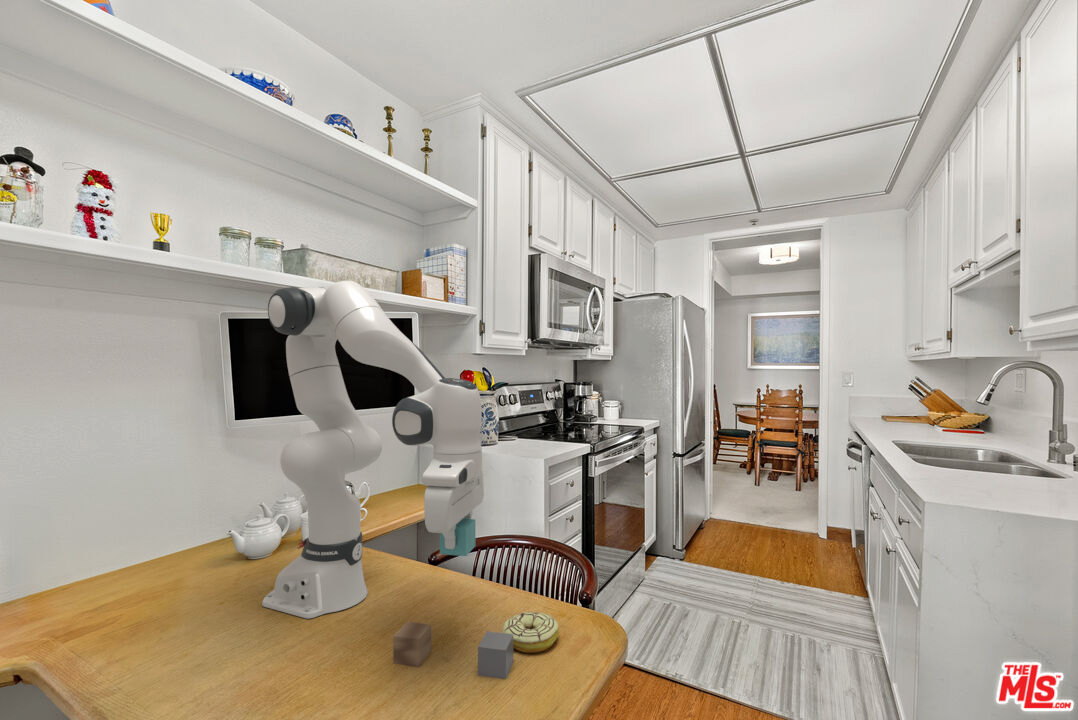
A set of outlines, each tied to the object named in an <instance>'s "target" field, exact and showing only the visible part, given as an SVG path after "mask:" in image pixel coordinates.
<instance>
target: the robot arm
mask: <svg viewBox="0 0 1078 720" xmlns="http://www.w3.org/2000/svg"><path fill="white" fill-rule="evenodd" d="M267 315H268V319H269V322H270V325H271V327H273V328H274V330H275V331H276V332H277V333H280V334H282V335H287V338H286V341H285V354H286V355H285V357H286V364H287V365H286V366H287V370H288V376H289V380H290V384H291V388H292V393H293V397H294V401H295V405H296V408H297V410H298V411H299V412H300V413H301V414H302V415H304V416H305V417H308V418H309V419H310V420H311V421H313V423H315V425H316V426H317V428H318V429H319V431H313V432H308V433H305V434H303V435H300V436H297V437H295V438H293V439H291V440H290V441H287V443H286V444H285V445H284V447H283V449H282V451H281V453H280V468H281V471H282V473H283V474H284V476H285V477H286V478H287V479H288V480H289V481H290V482H292V483H294V484H295V485H296V486H298V488H299V489H300V490H301V492H302V495H303V496H304V500H305V503H306V506H307V518H308V519H307V520H308V521H307V523H308V537H307V538H305V539H304V540H302V541H301V542H299V543H297V546H298V547H297V549H298V550H299V549H301V548H302V551H301V553H300V555H298V557H296V558H295V559H294V560H292V561H291V562H290V563H288V565H287V566H285V567H284V568H282V570H280V571H279V572H278V575H277V576H276V579H275V583H274V588H273V590H271V591H269V592H268V594H266V595H265V596H264V598H263V600H262V601H261V602H262V603H261V606H262V607H264V608H268V609H271V610H275V611H279V612H282V613H286V614H289V615H292V616H296V617H299V618H304V619H314V618H316V617H319V616H322V615H325V614H330V613H335V612H340V611H342V610H346V609H349V608H352V607H354V606H355V605H358V604H359V603H361V602H362V601H363V600H364V599H365V598H366V597H367V596H368V592H369V591H368V588H367V586H366V580H365V578H364V571H363V563H362V556H363V532H362V531H361V501H360V499H359V497H358V496H357V495H355V494H354V493H352V492H350V491H349V490H348V487H347V484H346V478H345V477H346V475H347V474H351V473H354V472H357V471H361V470H363V469H365V468H367V467H368V466H371V464H373V463H375V462H376V461H377V460H378V459H379V457H380V456H381V453H382V448H383V443H382V438H381V436H380V435H379V433H378V432H377V430H376V429H374V428H373V427H371V426H369V425H368V424H367V423H366V422H365V421H364V420H363V419H362V417H361V416H360V414H359V413H358V412H357V411H356V408H355V407H354V406H353V403H352V402H351V399H350V397H349V394H348V391H347V388H346V384H345V381H344V377H343V374H342V370H341V366H340V363H339V359H338V356H337V353H336V352H337V351H336V344H337V343H336V342H337V341H338V342H339V343H340V345H341V347H342V348H343V350H344V351H345V352H346V353H347V354H348V355H350V357H351V358H352V359H354V360H355V361H357V362H359V363H361V364H365V365H367V366H368V365H369V366H373V367H378V368H383V369H386V370H390V371H392V372H394V373H397V374H399V375H401V376H403V377H405V378H406V379H407V380H408V381H409V382H410V383H411V384H412V385H413V387H414V388H415V389H416V390H417V392H418V393H417V394H414V395H412V396H407V397H404V398H402V399H401V400H399V401H398V403H397V404H396V405H395V408H394V410H393V412H392V416H391V417H392V419H391V420H392V421H391V424H392V425H391V426H392V431H393V432H394V435H395V437H396V438H397V439H398V440H399V441H400V442H401V443H402V444H404V445H406V446H411V447H412V446H415V447H418V446H425V445H432V446H433V458H432V459H431V462H430V464H429V465H428V466H427V468H426V470H425V471H423V474H422V479H421V481H422V485H423V486H426V488H425V491H424V495H423V497H424V501H423V503H424V504H423V505H424V506H423V507H424V508H423V510H424V511H423V512H424V524H425V527H426V530H427V531H428V532H429V533H436V534H440V533H443V536H444V538H445V548H447V549H454V548H455V547H456V545H457V536H455V531H454V530H455V529H456V524H457V523H458V522H459V521H461V520H462V519H473V518H472V517H473V511H474V510H475V509H476V508H477V507H479V505H481V504H482V503H483V501H484V495H485V493H484V492H485V491H484V475H483V471H482V470H483V469H482V468H483V467H482V466H483V463H482V458H483V457H482V456H483V455H482V453H483V452H482V450H483V448H482V447H483V446H482V445H481V440H480V439H481V438H480V434H481V431H482V425H483V423H482V422H483V421H482V420H483V418H482V417H483V416H482V401H481V394H480V391H479V388H478V386H477V384H475V383H473V382H472V381H470V380H467V379H461V378H453V377H452V378H451V377H445V376H444V375H443V374H442V372H440V371H439V369H438V368H437V367H436V365H434V363H433V362H432V361H431V360H430V359H429V357H428V356H427V355H426V354H425V353H424V352H423V351H422V349H421V348H419V347H418V346H417V344H415V343H414V342H413V341H412V340H410V338H408V337H407V336H406V335H405V334H404V333H403V332H402V331H401V330H400V329H399V328H398V327H397V326H396V325H395V323H393V321H392V320H391V319H390V317H388V316H387V314H386V313H385V310H383V308H382V307H381V306H380V304H379V303H378V302H377V300H376V299H375V297H373V296H372V295H371V294H370V293H369V292H368V291H367V289H365V288H364V287H363V286H362V285H360V283H358V282H356V281H352V280H348V279H347V280H339V281H337V282H335V283H333V284H331V285H329V286H328V287H327V286H317V287H315V286H313V287H310V286H309V287H307V286H306V287H295V286H291V287H289V286H288V287H282V288H279V289H277V290H275V292H273V293H272V294H271V296H270V297H269V300H268V303H267Z"/></svg>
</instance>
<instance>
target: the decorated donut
mask: <svg viewBox="0 0 1078 720" xmlns="http://www.w3.org/2000/svg"><path fill="white" fill-rule="evenodd" d="M502 625H503V626H502V633H507V634H513V649H515V650H516V651H518V652H521V653H527V654H528V653H530V654H531V653H541V652H544V651H546V650H548V649H549V648H551V647H553V645H554V643H555V642H556V640H557V639H558V637H559V632H560V631H559V622H558V621H557V620H556V619H555V617H553V616H551V615H549V614H547V613H542V612H537V611H535V612H534V611H532V612H531V611H528V612H521V613H519V614H515V615H513V616H512V617H509V618H508V619H507V620H506V621H505V622H504V624H502Z"/></svg>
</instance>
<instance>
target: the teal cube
mask: <svg viewBox="0 0 1078 720" xmlns="http://www.w3.org/2000/svg"><path fill="white" fill-rule="evenodd" d="M454 531H455V536H457V545H456V547H455V548H454V549H447V548H445V538H444V536H443V533H439V554H440V555H447V556H459V557H467V556H468V555H469V554H470V553H471V551H472V550H473V549H474V548H475V547H476V519H473V518H471V519H462V520H461V521H459V522H458V523H457V524H456V529H455V530H454Z"/></svg>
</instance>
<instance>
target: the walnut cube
mask: <svg viewBox="0 0 1078 720" xmlns="http://www.w3.org/2000/svg"><path fill="white" fill-rule="evenodd" d="M392 640H393V643H392V645H393V646H392V647H393V649H392V650H393V652H392V653H393V659H392V660H393V662H392V664H394V665H402V666H408V667H416V668H420V667H421V665H422V664H423V663H424V661H425V660H426V659H427V657H428V656H429V654H430V653H431V652H432V624H428V623H420V622H413V621H406V622H405V623H404V624H403V625H402V626H401V627H400V628H399V629H398V630H397V631H396V633H394V635H393V637H392Z"/></svg>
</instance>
